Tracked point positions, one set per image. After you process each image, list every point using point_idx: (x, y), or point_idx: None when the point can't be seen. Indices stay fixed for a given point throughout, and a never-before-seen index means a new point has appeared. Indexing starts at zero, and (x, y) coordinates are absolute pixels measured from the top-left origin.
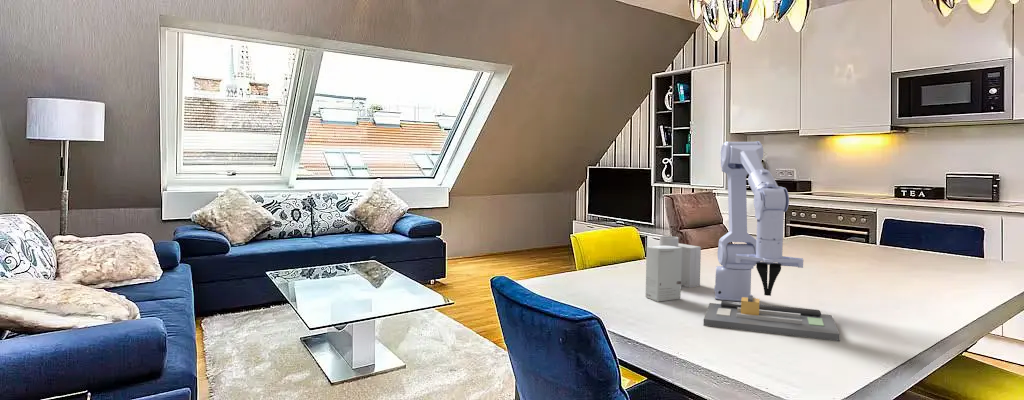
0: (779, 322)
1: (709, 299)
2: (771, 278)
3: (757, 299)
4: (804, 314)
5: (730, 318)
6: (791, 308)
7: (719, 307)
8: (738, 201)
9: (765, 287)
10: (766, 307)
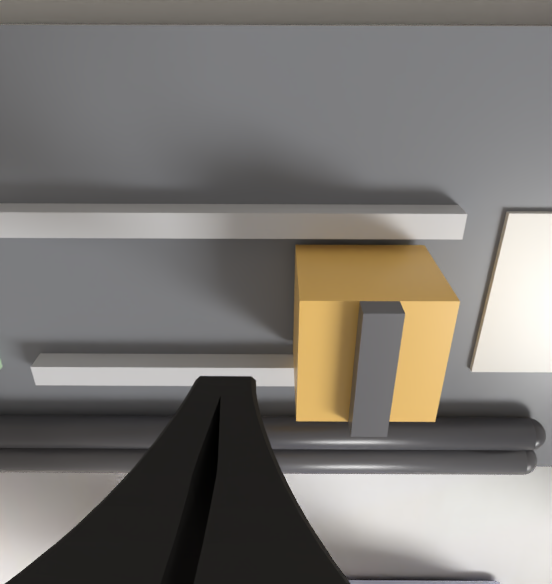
0: (149, 184)
1: (526, 574)
2: (147, 514)
3: (312, 392)
4: (28, 415)
5: (512, 146)
6: (100, 457)
7: (537, 396)
8: None
9: (242, 422)
10: None
